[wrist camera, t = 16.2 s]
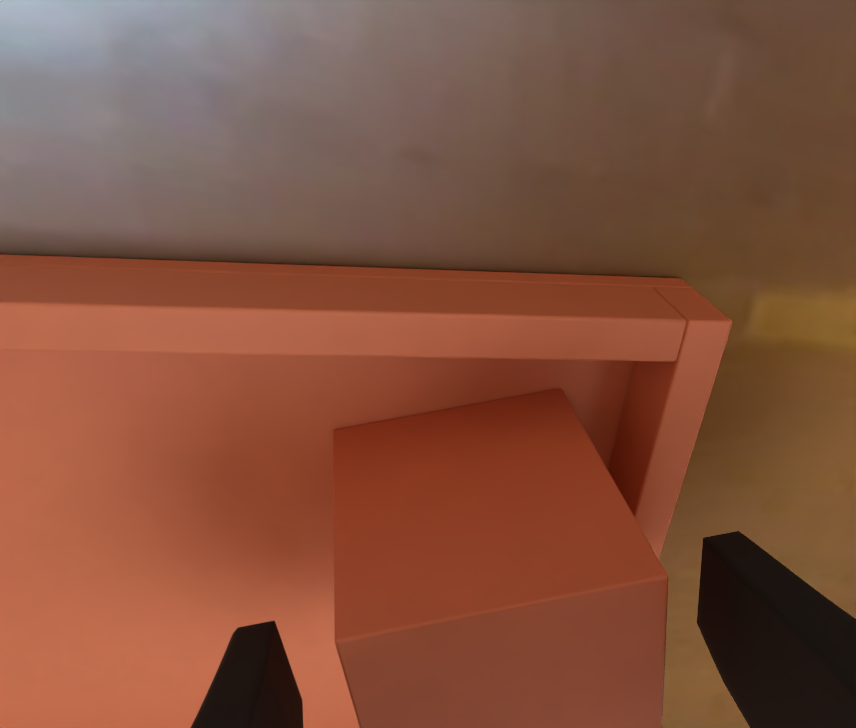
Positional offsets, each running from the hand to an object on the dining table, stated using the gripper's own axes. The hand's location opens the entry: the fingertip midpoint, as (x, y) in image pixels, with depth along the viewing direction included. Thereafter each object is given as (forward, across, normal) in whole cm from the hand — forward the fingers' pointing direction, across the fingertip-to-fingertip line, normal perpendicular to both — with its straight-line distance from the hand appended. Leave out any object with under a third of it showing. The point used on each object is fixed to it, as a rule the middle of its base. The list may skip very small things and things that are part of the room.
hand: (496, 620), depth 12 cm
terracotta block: (+3, 0, 0) cm, 3 cm away
